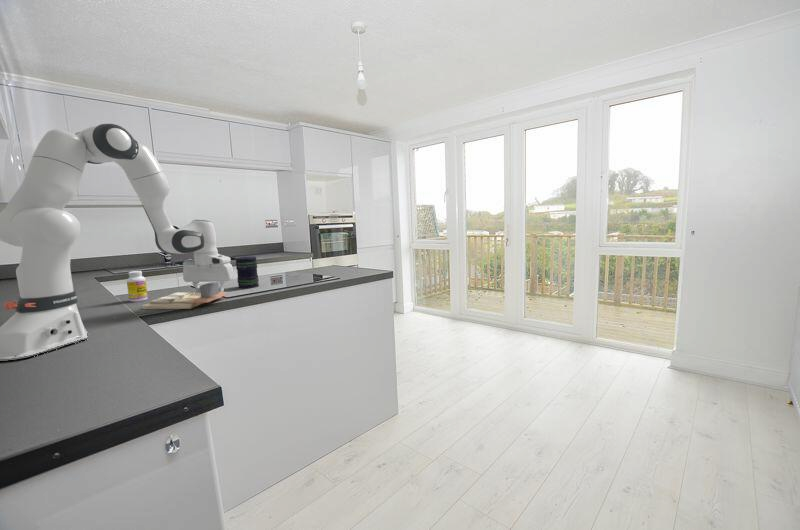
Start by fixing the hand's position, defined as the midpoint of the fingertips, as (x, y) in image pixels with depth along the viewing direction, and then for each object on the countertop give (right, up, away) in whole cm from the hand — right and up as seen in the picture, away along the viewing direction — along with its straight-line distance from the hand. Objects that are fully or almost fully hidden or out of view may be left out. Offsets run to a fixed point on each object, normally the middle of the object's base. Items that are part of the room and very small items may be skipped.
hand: (210, 291), depth 147 cm
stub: (0, -3, 0) cm, 3 cm away
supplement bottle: (-36, -5, +8) cm, 37 cm away
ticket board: (-12, -5, +1) cm, 13 cm away
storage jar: (+3, 0, +31) cm, 31 cm away
